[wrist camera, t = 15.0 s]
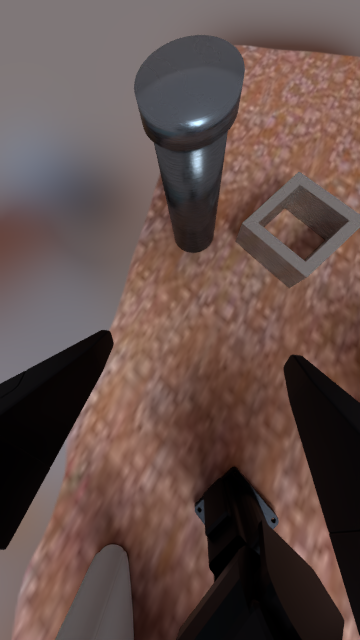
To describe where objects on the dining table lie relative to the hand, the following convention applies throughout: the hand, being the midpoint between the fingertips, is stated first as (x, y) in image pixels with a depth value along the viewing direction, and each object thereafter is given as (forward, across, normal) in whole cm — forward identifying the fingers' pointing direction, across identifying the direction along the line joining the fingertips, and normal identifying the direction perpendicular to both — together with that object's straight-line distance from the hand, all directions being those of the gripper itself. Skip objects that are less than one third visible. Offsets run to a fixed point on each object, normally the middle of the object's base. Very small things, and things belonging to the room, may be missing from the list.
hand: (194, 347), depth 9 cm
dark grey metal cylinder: (+21, +2, -2) cm, 21 cm away
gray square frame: (+21, -11, -2) cm, 23 cm away
